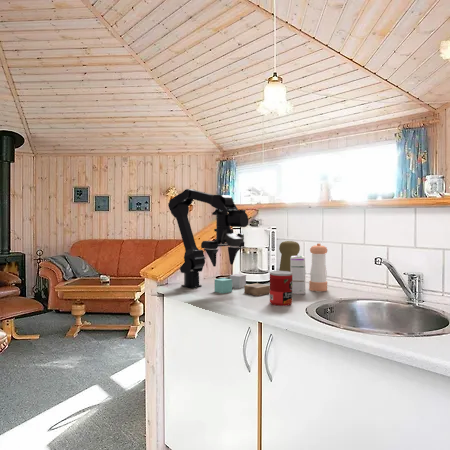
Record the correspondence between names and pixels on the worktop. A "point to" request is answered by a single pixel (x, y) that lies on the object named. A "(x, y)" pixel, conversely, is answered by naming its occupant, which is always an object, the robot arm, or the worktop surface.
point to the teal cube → (223, 285)
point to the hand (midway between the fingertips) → (223, 265)
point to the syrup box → (298, 274)
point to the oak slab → (256, 289)
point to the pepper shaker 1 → (287, 254)
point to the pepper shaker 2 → (318, 269)
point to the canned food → (281, 288)
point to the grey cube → (238, 280)
